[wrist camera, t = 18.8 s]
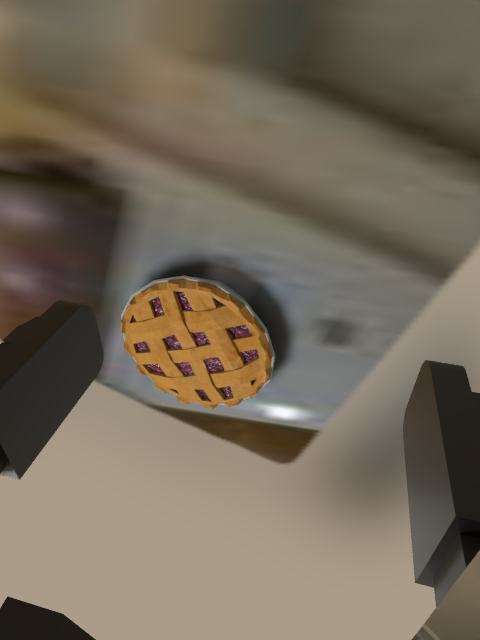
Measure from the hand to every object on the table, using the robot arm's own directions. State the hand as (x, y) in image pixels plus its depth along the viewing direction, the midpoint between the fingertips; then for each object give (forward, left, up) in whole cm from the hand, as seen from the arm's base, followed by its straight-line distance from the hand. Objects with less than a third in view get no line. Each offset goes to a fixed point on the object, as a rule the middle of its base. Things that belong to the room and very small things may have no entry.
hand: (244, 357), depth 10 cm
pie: (-15, -30, -37) cm, 50 cm away
